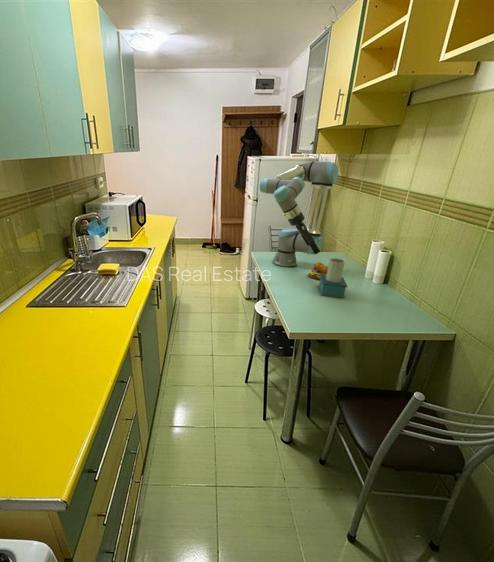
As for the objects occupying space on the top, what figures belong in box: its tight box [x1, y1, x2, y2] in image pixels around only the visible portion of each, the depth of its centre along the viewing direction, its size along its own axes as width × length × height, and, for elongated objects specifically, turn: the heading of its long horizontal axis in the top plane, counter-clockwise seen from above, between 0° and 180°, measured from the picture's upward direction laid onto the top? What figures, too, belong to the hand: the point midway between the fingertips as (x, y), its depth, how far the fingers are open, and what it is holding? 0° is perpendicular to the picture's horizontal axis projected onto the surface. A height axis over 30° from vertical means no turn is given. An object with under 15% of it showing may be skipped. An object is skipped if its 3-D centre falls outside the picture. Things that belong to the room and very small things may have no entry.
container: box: [318, 274, 348, 298], centre depth 163 cm, size 13×12×7 cm
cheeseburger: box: [307, 261, 328, 280], centre depth 182 cm, size 10×11×10 cm
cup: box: [326, 257, 346, 283], centre depth 160 cm, size 7×7×11 cm
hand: (313, 248), depth 158 cm, fingers open, 13 cm apart
